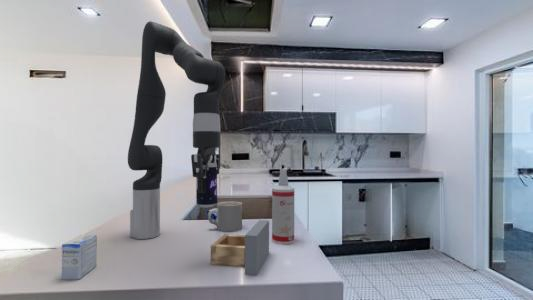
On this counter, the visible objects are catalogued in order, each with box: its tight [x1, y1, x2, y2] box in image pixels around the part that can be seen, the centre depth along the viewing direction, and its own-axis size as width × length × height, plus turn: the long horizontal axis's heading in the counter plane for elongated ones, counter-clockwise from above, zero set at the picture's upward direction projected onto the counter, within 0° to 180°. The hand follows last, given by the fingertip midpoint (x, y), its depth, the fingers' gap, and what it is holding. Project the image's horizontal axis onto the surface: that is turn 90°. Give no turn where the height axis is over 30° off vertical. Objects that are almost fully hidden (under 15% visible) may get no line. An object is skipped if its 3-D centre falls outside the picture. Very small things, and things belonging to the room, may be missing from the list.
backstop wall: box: [244, 219, 270, 277], centre depth 79 cm, size 3×16×10 cm, turn 168°
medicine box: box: [61, 234, 98, 281], centre depth 73 cm, size 8×4×9 cm, turn 5°
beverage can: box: [195, 163, 218, 208], centre depth 79 cm, size 6×6×12 cm
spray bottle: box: [271, 168, 295, 246], centre depth 99 cm, size 8×8×25 cm
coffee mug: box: [207, 201, 243, 233], centre depth 114 cm, size 13×10×10 cm
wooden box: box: [210, 233, 246, 268], centre depth 82 cm, size 11×11×5 cm
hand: (207, 191), depth 79 cm, fingers closed on beverage can, 5 cm apart
